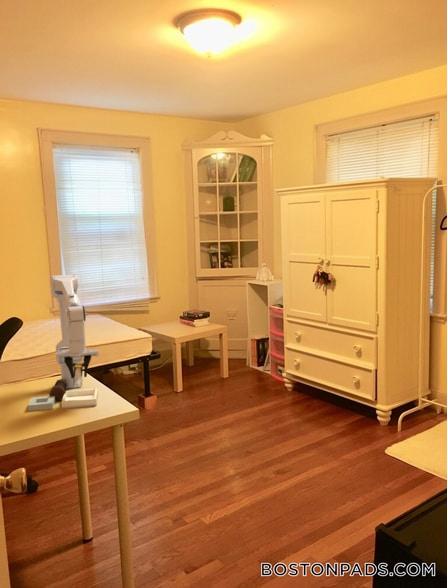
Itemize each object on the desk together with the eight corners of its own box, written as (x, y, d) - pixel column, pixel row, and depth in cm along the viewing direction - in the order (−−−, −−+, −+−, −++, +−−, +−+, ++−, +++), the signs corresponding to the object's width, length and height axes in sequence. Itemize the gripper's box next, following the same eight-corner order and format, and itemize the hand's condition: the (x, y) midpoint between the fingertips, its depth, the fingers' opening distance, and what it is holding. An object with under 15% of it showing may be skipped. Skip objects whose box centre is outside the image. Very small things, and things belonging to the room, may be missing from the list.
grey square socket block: (32, 402, 176) (31, 397, 175) (55, 400, 177) (55, 395, 177) (28, 410, 168) (27, 405, 167) (52, 408, 169) (52, 403, 169)
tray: (65, 397, 180) (65, 391, 180) (97, 394, 183) (97, 388, 182) (61, 408, 169) (61, 401, 169) (96, 405, 172) (96, 398, 171)
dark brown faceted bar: (64, 391, 192) (60, 403, 177) (52, 386, 191) (46, 398, 176) (71, 378, 192) (67, 389, 177) (59, 373, 191) (54, 383, 176)
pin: (72, 383, 176) (73, 362, 176) (83, 383, 177) (84, 362, 176) (71, 387, 173) (72, 365, 172) (83, 387, 173) (83, 365, 173)
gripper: (54, 343, 168) (56, 381, 169) (97, 340, 170) (99, 378, 172) (56, 339, 174) (58, 375, 176) (98, 336, 177) (100, 372, 179)
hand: (79, 376), depth 175 cm, fingers closed on pin, 4 cm apart
